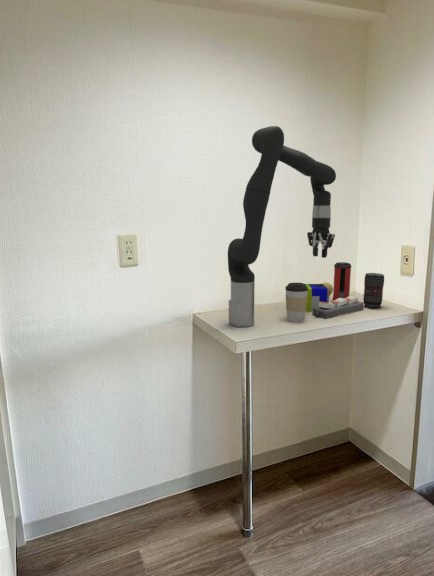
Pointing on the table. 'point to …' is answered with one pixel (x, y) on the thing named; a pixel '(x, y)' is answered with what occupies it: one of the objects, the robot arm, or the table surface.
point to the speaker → (341, 280)
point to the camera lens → (373, 290)
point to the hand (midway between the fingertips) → (319, 256)
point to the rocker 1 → (326, 305)
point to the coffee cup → (296, 301)
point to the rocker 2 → (339, 302)
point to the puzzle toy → (315, 295)
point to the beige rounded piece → (330, 290)
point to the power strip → (337, 310)
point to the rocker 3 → (351, 299)
